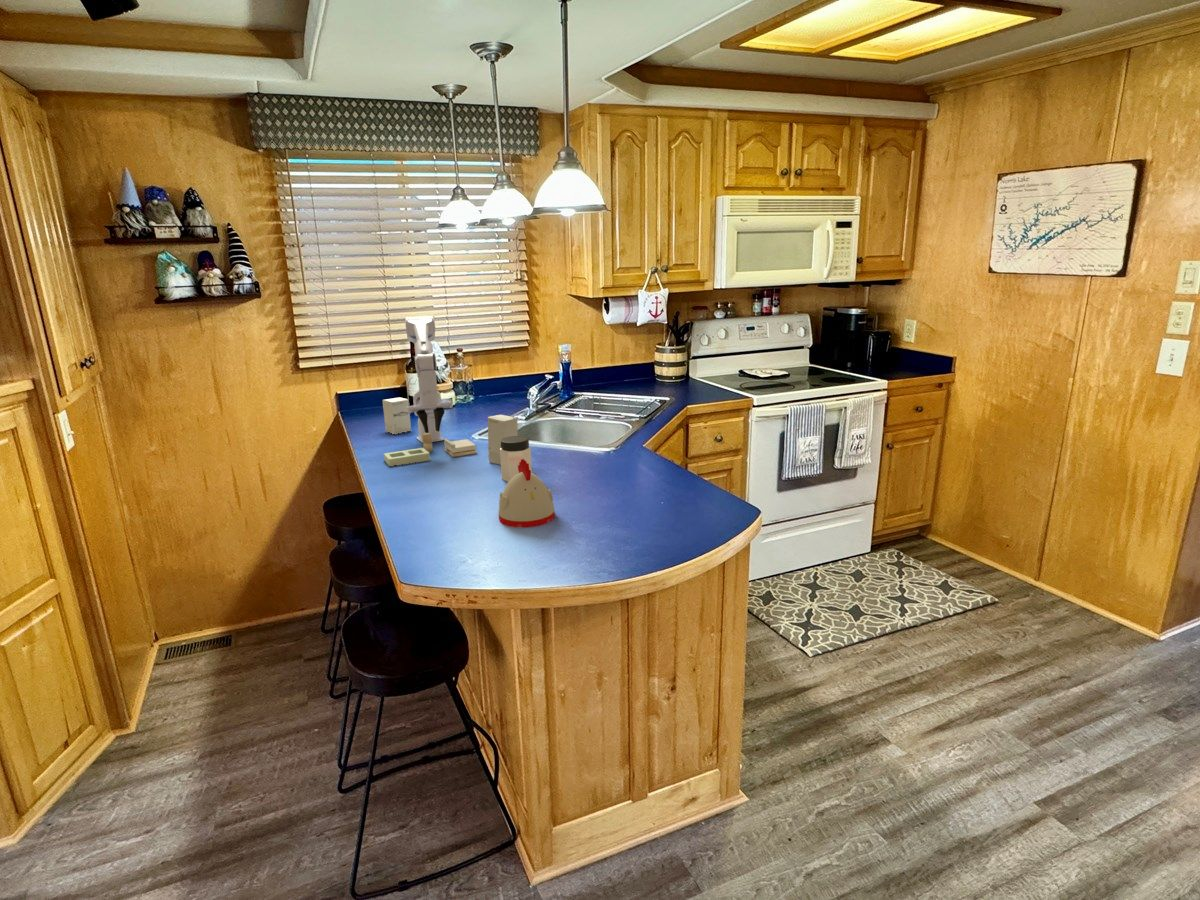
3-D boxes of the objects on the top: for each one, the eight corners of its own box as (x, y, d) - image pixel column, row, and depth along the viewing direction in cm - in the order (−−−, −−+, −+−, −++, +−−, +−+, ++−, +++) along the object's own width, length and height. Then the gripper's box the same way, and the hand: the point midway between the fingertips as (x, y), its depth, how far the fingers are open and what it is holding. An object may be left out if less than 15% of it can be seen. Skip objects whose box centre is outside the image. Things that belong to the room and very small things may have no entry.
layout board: (445, 450, 237) (444, 447, 237) (467, 447, 241) (467, 444, 241) (453, 456, 230) (452, 453, 229) (476, 453, 233) (476, 449, 233)
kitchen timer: (507, 531, 166) (503, 471, 162) (492, 513, 178) (488, 457, 174) (562, 521, 171) (559, 463, 167) (544, 504, 183) (541, 449, 179)
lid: (444, 446, 237) (444, 439, 236) (467, 443, 240) (466, 435, 240) (452, 452, 229) (452, 444, 228) (476, 449, 233) (475, 441, 232)
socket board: (384, 460, 227) (383, 453, 227) (423, 454, 233) (423, 447, 233) (389, 466, 221) (389, 459, 220) (430, 460, 227) (429, 453, 226)
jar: (512, 472, 211) (509, 434, 208) (536, 475, 208) (534, 436, 205) (497, 481, 203) (494, 442, 200) (522, 484, 200) (519, 444, 197)
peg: (422, 450, 238) (421, 433, 236) (431, 449, 239) (429, 432, 238) (425, 452, 236) (423, 435, 234) (433, 451, 237) (432, 434, 235)
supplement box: (393, 435, 261) (390, 402, 257) (385, 431, 266) (381, 399, 263) (412, 431, 265) (408, 399, 262) (403, 428, 271) (399, 396, 267)
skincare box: (488, 462, 222) (485, 417, 218) (502, 458, 227) (499, 413, 223) (506, 466, 217) (503, 420, 213) (520, 462, 222) (517, 416, 218)
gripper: (408, 395, 218) (413, 437, 222) (453, 390, 225) (457, 430, 229) (403, 392, 224) (407, 432, 228) (447, 387, 231) (450, 426, 235)
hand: (432, 431), depth 229 cm, fingers open, 3 cm apart
